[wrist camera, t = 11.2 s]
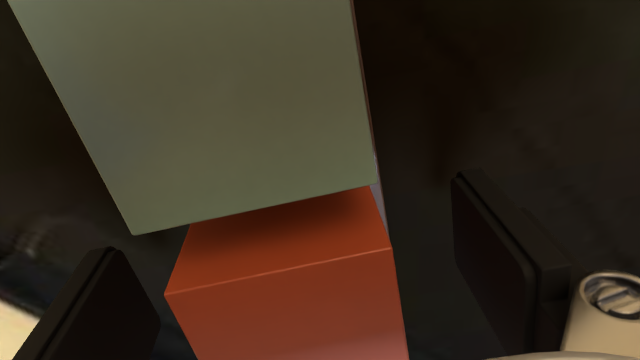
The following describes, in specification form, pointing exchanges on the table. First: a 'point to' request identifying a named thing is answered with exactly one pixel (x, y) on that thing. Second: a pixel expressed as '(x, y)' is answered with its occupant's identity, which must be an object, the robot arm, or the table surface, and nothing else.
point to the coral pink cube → (291, 283)
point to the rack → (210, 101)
